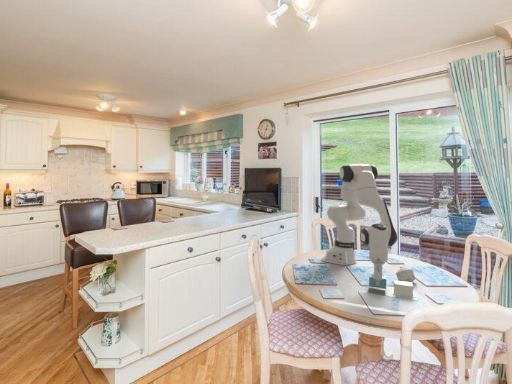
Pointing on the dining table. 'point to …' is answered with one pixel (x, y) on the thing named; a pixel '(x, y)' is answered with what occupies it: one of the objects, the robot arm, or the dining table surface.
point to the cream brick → (403, 288)
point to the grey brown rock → (405, 275)
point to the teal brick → (373, 282)
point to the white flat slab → (389, 292)
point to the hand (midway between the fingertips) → (377, 282)
